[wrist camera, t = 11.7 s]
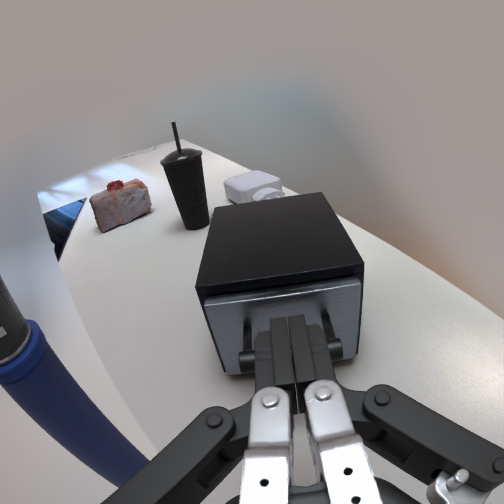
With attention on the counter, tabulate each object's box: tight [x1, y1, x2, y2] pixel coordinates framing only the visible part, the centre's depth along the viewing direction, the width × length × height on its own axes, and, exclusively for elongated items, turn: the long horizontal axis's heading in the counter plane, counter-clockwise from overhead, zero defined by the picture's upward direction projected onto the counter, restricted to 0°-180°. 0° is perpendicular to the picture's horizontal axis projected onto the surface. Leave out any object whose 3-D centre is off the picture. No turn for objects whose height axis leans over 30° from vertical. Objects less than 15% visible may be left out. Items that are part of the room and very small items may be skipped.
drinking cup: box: [160, 122, 210, 230], centre depth 55 cm, size 8×8×20 cm
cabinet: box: [195, 192, 364, 372], centre depth 32 cm, size 16×13×10 cm
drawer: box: [204, 275, 361, 375], centre depth 29 cm, size 19×12×8 cm, turn 1°
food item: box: [89, 179, 152, 232], centre depth 68 cm, size 14×8×10 cm, turn 128°
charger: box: [224, 170, 285, 204], centre depth 63 cm, size 5×9×15 cm
